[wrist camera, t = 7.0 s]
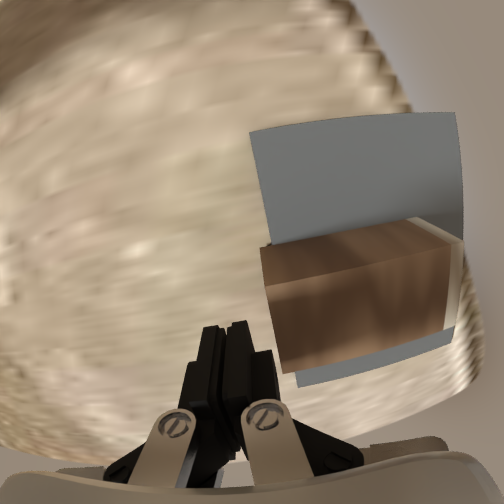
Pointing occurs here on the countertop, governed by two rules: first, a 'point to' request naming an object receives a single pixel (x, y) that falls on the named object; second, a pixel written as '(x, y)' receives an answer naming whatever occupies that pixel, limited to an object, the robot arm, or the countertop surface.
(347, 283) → the walnut block
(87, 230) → the countertop surface
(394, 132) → the grey mat
